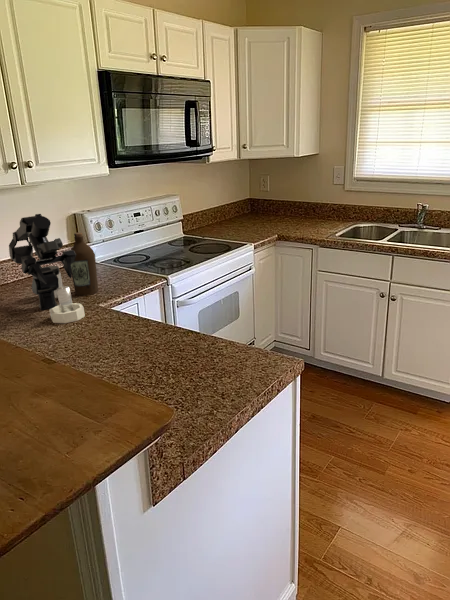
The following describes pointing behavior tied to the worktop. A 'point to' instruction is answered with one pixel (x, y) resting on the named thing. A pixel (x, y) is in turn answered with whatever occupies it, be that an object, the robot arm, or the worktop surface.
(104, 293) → the worktop surface
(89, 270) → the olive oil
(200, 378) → the worktop surface
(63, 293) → the canister
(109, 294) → the worktop surface
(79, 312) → the bowl
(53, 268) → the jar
